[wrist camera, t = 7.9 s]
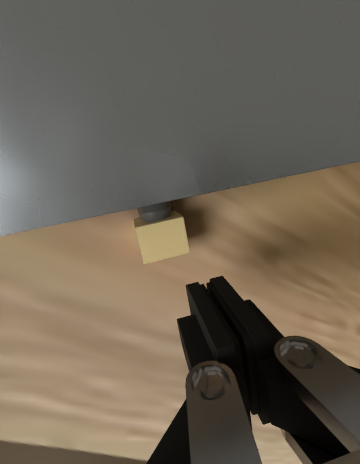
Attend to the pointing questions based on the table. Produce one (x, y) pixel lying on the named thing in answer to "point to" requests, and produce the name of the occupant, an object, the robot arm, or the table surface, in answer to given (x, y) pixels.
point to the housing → (168, 100)
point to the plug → (160, 232)
